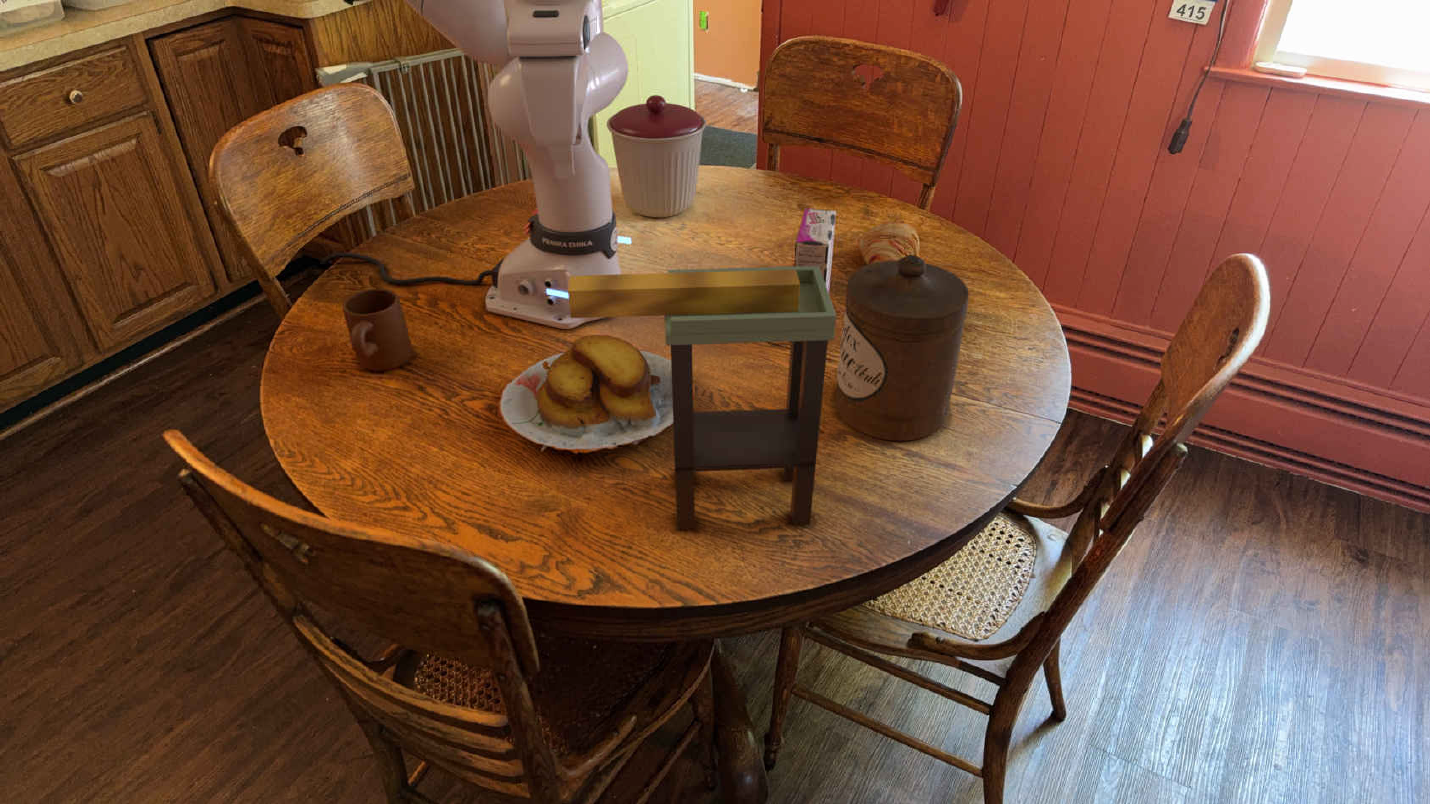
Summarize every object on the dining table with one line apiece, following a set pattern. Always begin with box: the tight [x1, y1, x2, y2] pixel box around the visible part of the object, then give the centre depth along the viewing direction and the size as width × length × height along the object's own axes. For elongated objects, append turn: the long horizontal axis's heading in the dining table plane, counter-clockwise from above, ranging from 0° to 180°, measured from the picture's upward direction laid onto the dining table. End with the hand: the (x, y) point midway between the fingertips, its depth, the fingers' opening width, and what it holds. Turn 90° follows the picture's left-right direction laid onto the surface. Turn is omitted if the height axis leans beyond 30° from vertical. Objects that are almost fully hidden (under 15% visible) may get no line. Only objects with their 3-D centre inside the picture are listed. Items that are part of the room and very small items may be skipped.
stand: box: [664, 266, 837, 531], centre depth 92 cm, size 16×10×28 cm, turn 94°
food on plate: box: [497, 334, 696, 460], centre depth 112 cm, size 25×25×7 cm
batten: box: [568, 270, 800, 318], centre depth 83 cm, size 22×3×3 cm, turn 94°
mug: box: [342, 288, 413, 372], centre depth 118 cm, size 12×8×9 cm, turn 2°
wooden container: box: [834, 255, 970, 442], centre depth 107 cm, size 15×15×22 cm
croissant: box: [859, 219, 921, 265], centre depth 146 cm, size 21×10×8 cm, turn 163°
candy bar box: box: [793, 208, 837, 294], centre depth 126 cm, size 11×5×16 cm, turn 168°
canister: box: [606, 94, 707, 218], centre depth 159 cm, size 18×18×21 cm
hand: (569, 159), depth 87 cm, fingers open, 8 cm apart
